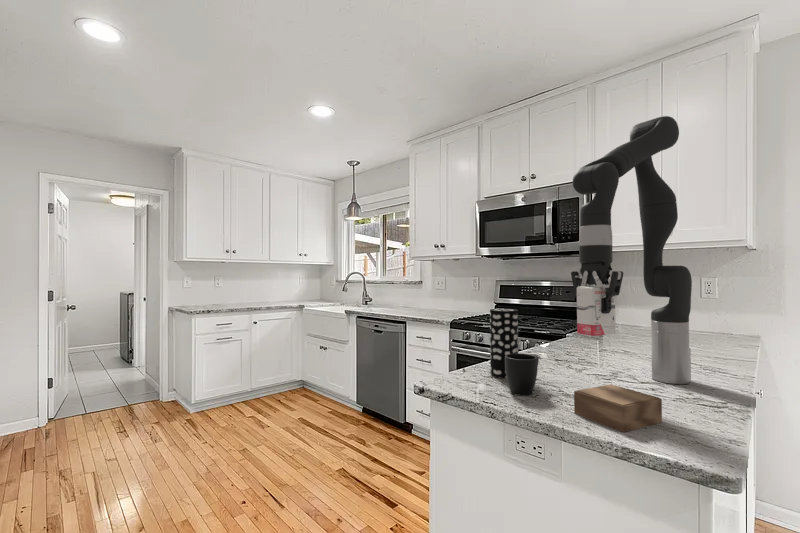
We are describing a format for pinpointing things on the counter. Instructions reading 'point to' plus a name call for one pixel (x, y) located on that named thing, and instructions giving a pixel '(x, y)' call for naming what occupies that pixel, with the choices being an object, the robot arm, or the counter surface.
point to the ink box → (593, 313)
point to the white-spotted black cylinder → (502, 339)
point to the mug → (521, 373)
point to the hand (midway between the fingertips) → (595, 312)
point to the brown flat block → (618, 407)
